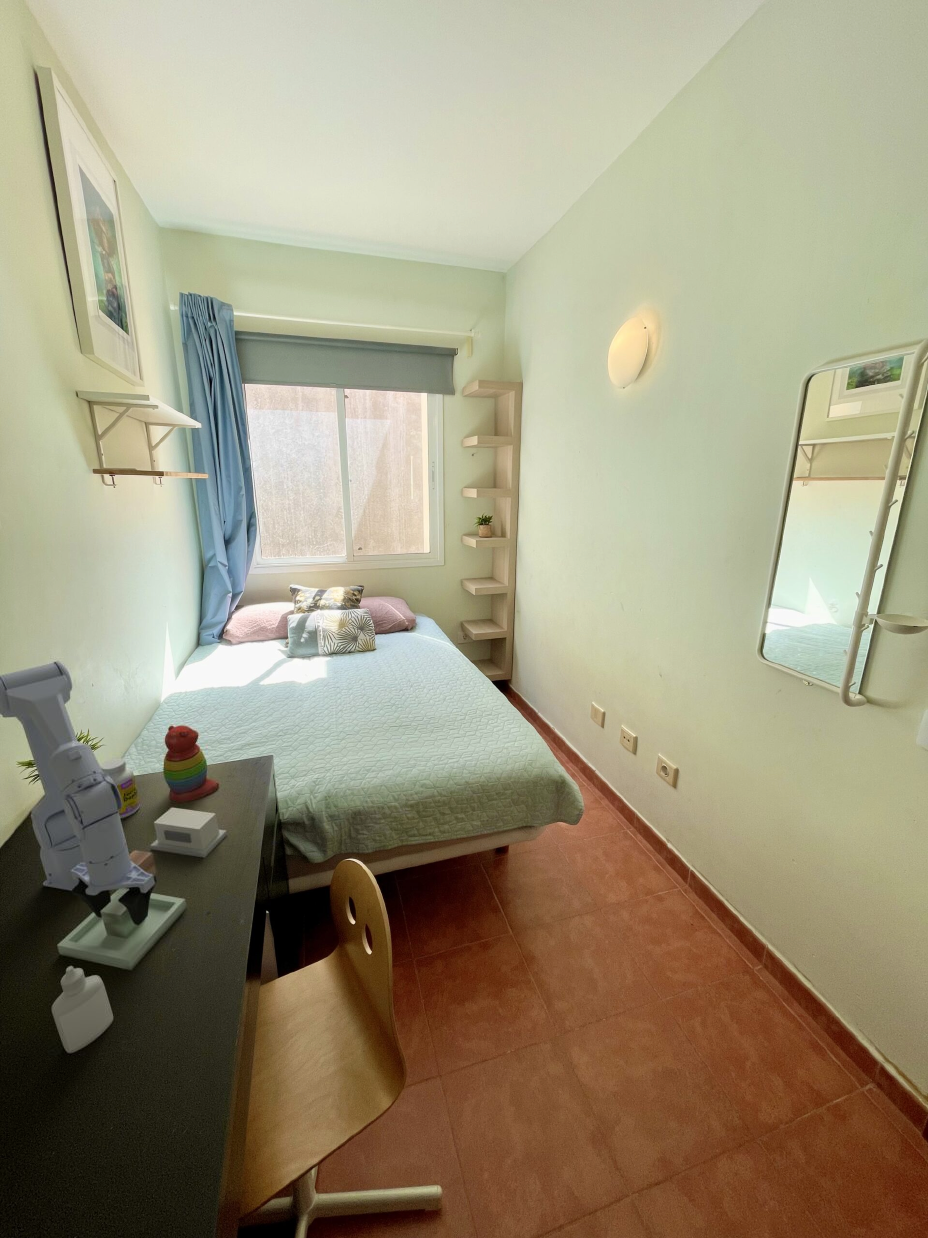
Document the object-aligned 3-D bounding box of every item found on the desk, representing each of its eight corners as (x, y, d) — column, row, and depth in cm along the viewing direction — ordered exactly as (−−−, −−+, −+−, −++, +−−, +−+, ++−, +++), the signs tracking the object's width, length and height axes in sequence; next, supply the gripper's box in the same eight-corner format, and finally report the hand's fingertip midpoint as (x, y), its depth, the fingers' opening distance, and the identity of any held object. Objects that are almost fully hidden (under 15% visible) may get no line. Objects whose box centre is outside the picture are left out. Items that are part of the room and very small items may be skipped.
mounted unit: (151, 849, 104) (145, 825, 102) (176, 827, 111) (171, 804, 109) (204, 857, 101) (199, 833, 100) (227, 834, 108) (222, 811, 106)
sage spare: (106, 934, 84) (100, 911, 82) (126, 915, 88) (120, 892, 86) (126, 938, 83) (120, 915, 82) (145, 918, 87) (140, 896, 85)
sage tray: (60, 954, 81) (57, 945, 80) (122, 896, 92) (120, 887, 92) (131, 970, 78) (128, 960, 78) (186, 908, 89) (184, 899, 89)
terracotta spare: (122, 886, 95) (117, 865, 93) (139, 870, 98) (134, 850, 97) (140, 889, 94) (135, 868, 92) (156, 873, 98) (152, 853, 96)
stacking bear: (222, 787, 125) (211, 724, 120) (181, 809, 117) (167, 742, 112) (200, 773, 131) (189, 713, 126) (160, 793, 123) (146, 729, 118)
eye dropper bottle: (110, 1039, 69) (90, 973, 65) (60, 1059, 66) (37, 992, 63) (116, 1010, 72) (98, 946, 69) (69, 1027, 70) (48, 963, 67)
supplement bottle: (128, 820, 113) (116, 771, 109) (100, 820, 113) (87, 772, 110) (147, 802, 119) (136, 755, 116) (120, 802, 120) (108, 755, 116)
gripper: (45, 862, 78) (66, 929, 82) (121, 876, 75) (139, 944, 79) (86, 832, 85) (103, 895, 89) (157, 843, 82) (172, 908, 86)
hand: (122, 916), depth 84 cm, fingers open, 7 cm apart
